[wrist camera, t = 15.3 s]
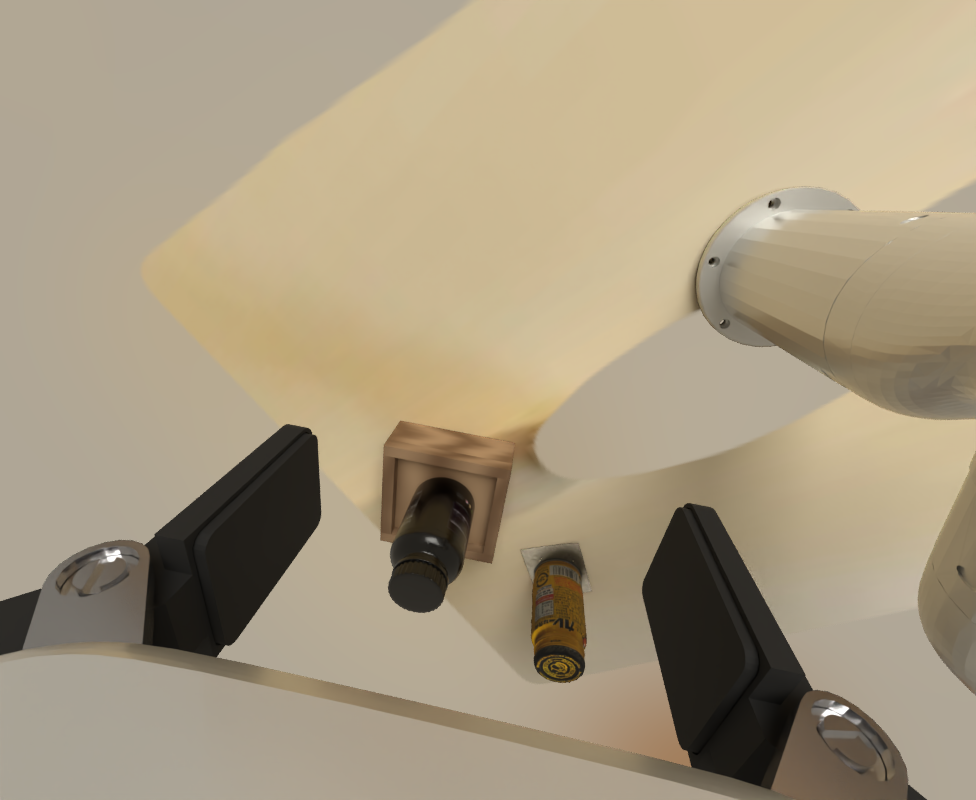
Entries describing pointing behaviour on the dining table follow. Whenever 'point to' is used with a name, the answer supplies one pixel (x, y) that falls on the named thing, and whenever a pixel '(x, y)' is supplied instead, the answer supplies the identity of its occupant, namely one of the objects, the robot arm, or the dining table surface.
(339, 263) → the dining table surface
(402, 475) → the walnut tray
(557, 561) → the condiment
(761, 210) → the robot arm
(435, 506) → the supplement bottle
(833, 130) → the dining table surface
